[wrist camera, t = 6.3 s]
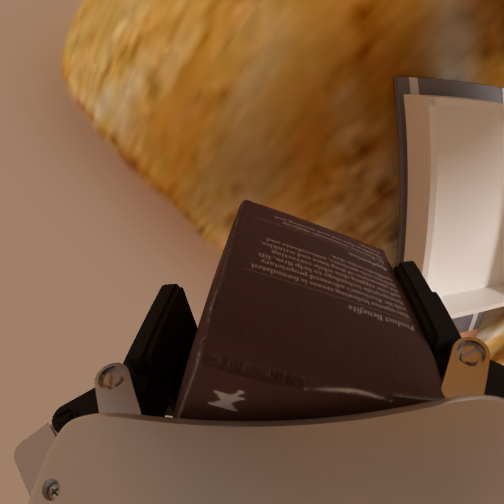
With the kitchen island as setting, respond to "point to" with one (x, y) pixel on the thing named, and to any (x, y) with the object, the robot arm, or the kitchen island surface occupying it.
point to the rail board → (418, 87)
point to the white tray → (456, 199)
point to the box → (303, 329)
